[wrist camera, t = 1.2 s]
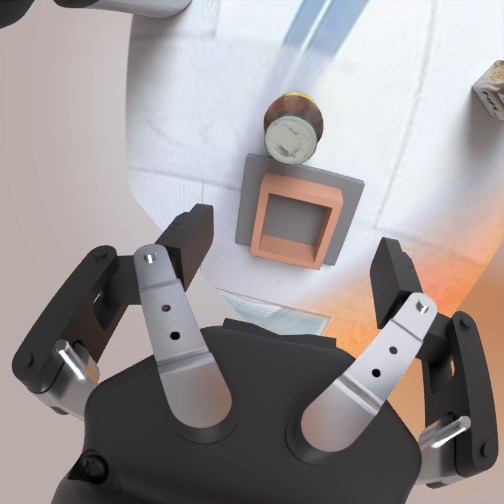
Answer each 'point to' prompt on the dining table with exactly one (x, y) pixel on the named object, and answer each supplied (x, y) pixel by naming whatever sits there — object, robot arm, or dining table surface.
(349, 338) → the dining table surface
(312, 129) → the sauce bottle
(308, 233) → the planter box on base
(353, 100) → the dining table surface
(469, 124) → the dining table surface
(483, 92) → the coffee box
